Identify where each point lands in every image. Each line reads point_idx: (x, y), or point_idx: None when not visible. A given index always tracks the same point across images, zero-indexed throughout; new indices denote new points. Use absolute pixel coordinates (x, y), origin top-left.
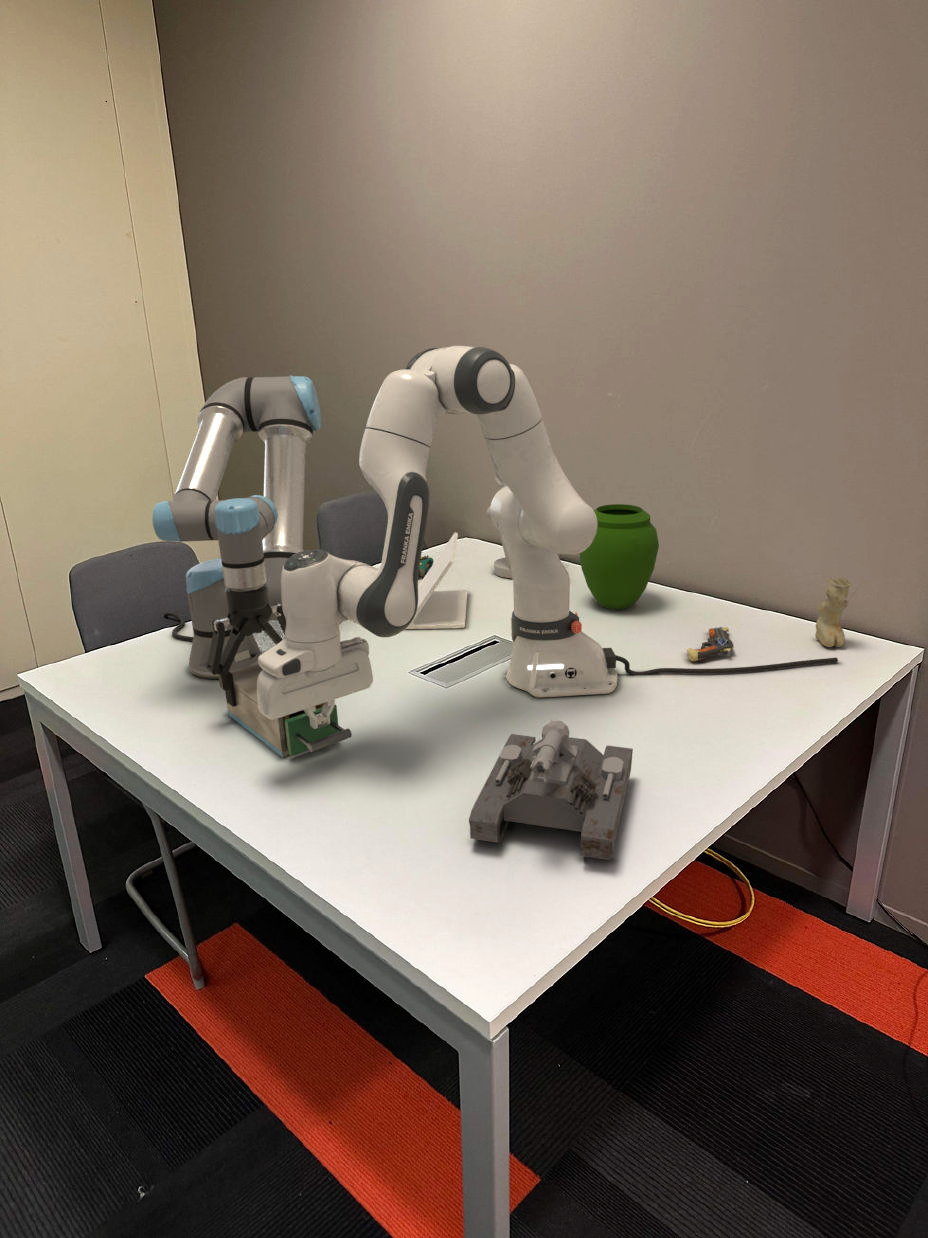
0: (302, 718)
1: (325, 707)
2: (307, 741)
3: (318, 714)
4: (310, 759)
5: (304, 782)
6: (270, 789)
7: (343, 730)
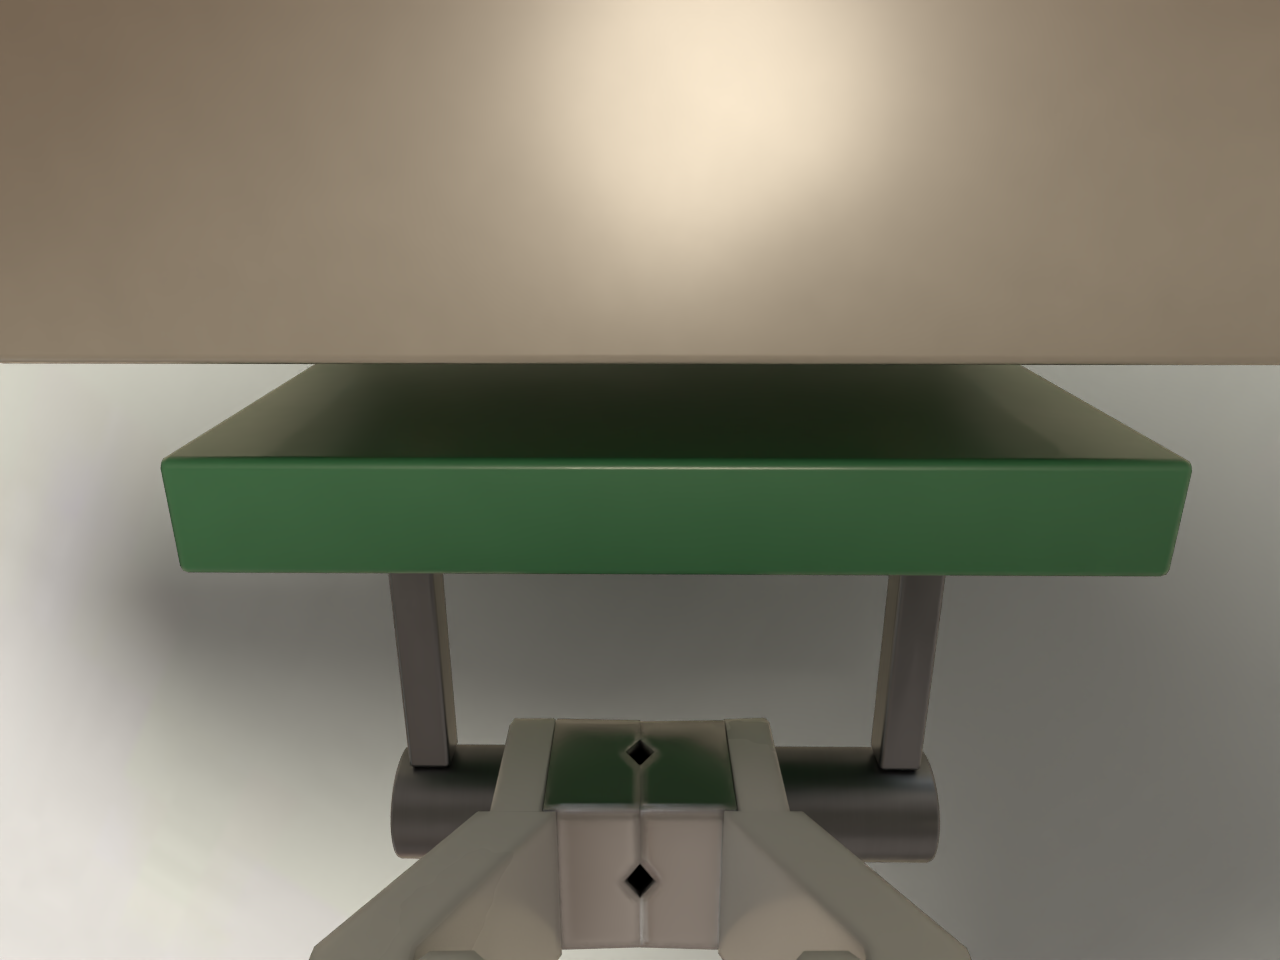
0: (467, 571)
1: (796, 957)
2: (426, 723)
3: (657, 827)
4: None
5: (343, 734)
6: (73, 656)
7: (864, 838)
